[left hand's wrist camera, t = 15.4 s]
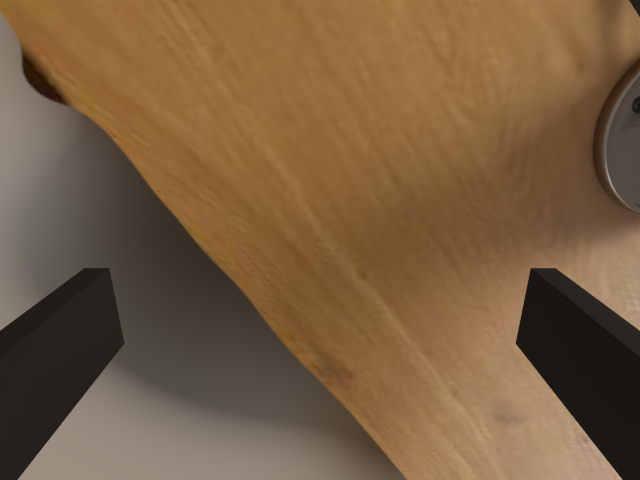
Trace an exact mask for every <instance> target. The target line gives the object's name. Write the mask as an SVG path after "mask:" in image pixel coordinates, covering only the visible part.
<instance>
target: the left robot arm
mask: <svg viewBox="0 0 640 480" xmlns="http://www.w3.org/2000/svg"><path fill="white" fill-rule="evenodd" d="M630 2H631V4H632V5H633V7H634V8H635V10H636V12H637V13H638V15H639V17H640V0H630ZM593 158H594V165H595V170H596V173H597V177H598V179H599V181H600V183H601V185H602V187H603V188H604V190H605V191H606V192H607V194H608V195H609V196H610V197H611V198H612V199H613V200H614V201H615V202H617V203H618V204H619V205H621V206H623V207H625V208H627V209H629V210H631V211H634V212H636V213H639V214H640V62H638V63H637V64H636V65H635V66H634V67H633V68H632V69H631V70H630V71H629V72H628V73H627V74H626V75H625V76H624V78H623V79H622V80H621V81H620V82H619V84H618V85H617V86H616V88H615V89H614V91H613V92H612V94H611V95H610V97H609V99H608V100H607V102H606V104H605V106H604V108H603V110H602V113H601V115H600V118H599V121H598V124H597V127H596V132H595V136H594V144H593ZM123 344H124V340H123V335H122V330H121V325H120V320H119V315H118V310H117V305H116V300H115V295H114V290H113V285H112V280H111V275H110V270H109V268H84V269H83V270H82V271H80V272H79V273H78V274H76V275H75V276H73V277H72V278H71V279H69V280H68V281H67V282H65V283H64V284H63V285H61V286H60V287H59V288H57V289H56V290H55V291H53V292H52V293H51V294H49V295H48V296H46V297H45V298H44V299H42V300H41V301H40V302H38V303H37V304H36V305H34V306H33V307H32V308H30V309H29V310H28V311H26V312H25V313H24V314H22V315H21V316H20V317H18V318H17V319H15V320H14V321H13V322H11V323H10V324H9V325H7V326H6V327H5V328H3V329H2V330H1V331H0V480H18V478H19V477H20V476H21V474H22V473H23V472H24V471H25V469H26V468H27V467H28V466H29V464H30V463H31V462H32V460H33V459H34V458H35V457H36V455H37V454H38V453H39V452H40V450H41V449H42V448H43V446H44V445H45V444H46V442H47V441H48V440H49V439H50V437H51V436H52V435H53V434H54V432H55V431H56V430H57V429H58V427H59V426H60V425H61V423H62V422H63V421H64V420H65V418H66V417H67V416H68V414H69V413H70V412H71V411H72V409H73V408H74V407H75V406H76V404H77V403H78V402H79V401H80V399H81V398H82V397H83V395H84V394H85V393H86V392H87V390H88V389H89V388H90V386H91V385H92V384H93V383H94V381H95V380H96V379H97V378H98V376H99V375H100V374H101V372H102V371H103V370H104V369H105V367H106V366H107V365H108V364H109V362H110V361H111V360H112V358H113V357H114V356H115V355H116V353H117V352H118V351H119V349H120V348H121V347H122V346H123ZM516 344H517V346H518V347H519V348H520V349H521V351H522V352H523V353H524V355H525V356H526V357H527V358H528V360H529V361H530V362H531V364H532V365H533V366H534V367H535V369H536V370H537V371H538V372H539V374H540V375H541V376H542V378H543V379H544V380H545V381H546V383H547V384H548V385H549V386H550V388H551V389H552V390H553V392H554V393H555V394H556V395H557V397H558V398H559V399H560V401H561V402H562V403H563V404H564V406H565V407H566V408H567V409H568V411H569V412H570V413H571V415H572V416H573V417H574V418H575V420H576V421H577V422H578V423H579V425H580V426H581V427H582V429H583V430H584V431H585V432H586V434H587V435H588V436H589V437H590V439H591V440H592V441H593V443H594V444H595V445H596V446H597V448H598V449H599V450H600V452H601V453H602V454H603V455H604V457H605V458H606V459H607V460H608V462H609V463H610V464H611V466H612V467H613V468H614V469H615V471H616V472H617V473H618V474H619V476H620V477H621V478H622V480H640V331H639V330H638V329H637V328H635V327H634V326H633V325H631V324H630V323H629V322H627V321H626V320H625V319H623V318H622V317H621V316H619V315H618V314H616V313H615V312H614V311H612V310H611V309H610V308H608V307H607V306H606V305H604V304H603V303H602V302H600V301H599V300H598V299H596V298H595V297H594V296H592V295H591V294H589V293H588V292H587V291H585V290H584V289H583V288H581V287H580V286H579V285H577V284H576V283H575V282H573V281H572V280H571V279H569V278H568V277H567V276H565V275H564V274H562V273H561V272H560V271H558V270H557V269H556V268H531V270H530V275H529V280H528V285H527V290H526V295H525V300H524V305H523V310H522V315H521V320H520V325H519V330H518V335H517V340H516Z"/></svg>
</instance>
